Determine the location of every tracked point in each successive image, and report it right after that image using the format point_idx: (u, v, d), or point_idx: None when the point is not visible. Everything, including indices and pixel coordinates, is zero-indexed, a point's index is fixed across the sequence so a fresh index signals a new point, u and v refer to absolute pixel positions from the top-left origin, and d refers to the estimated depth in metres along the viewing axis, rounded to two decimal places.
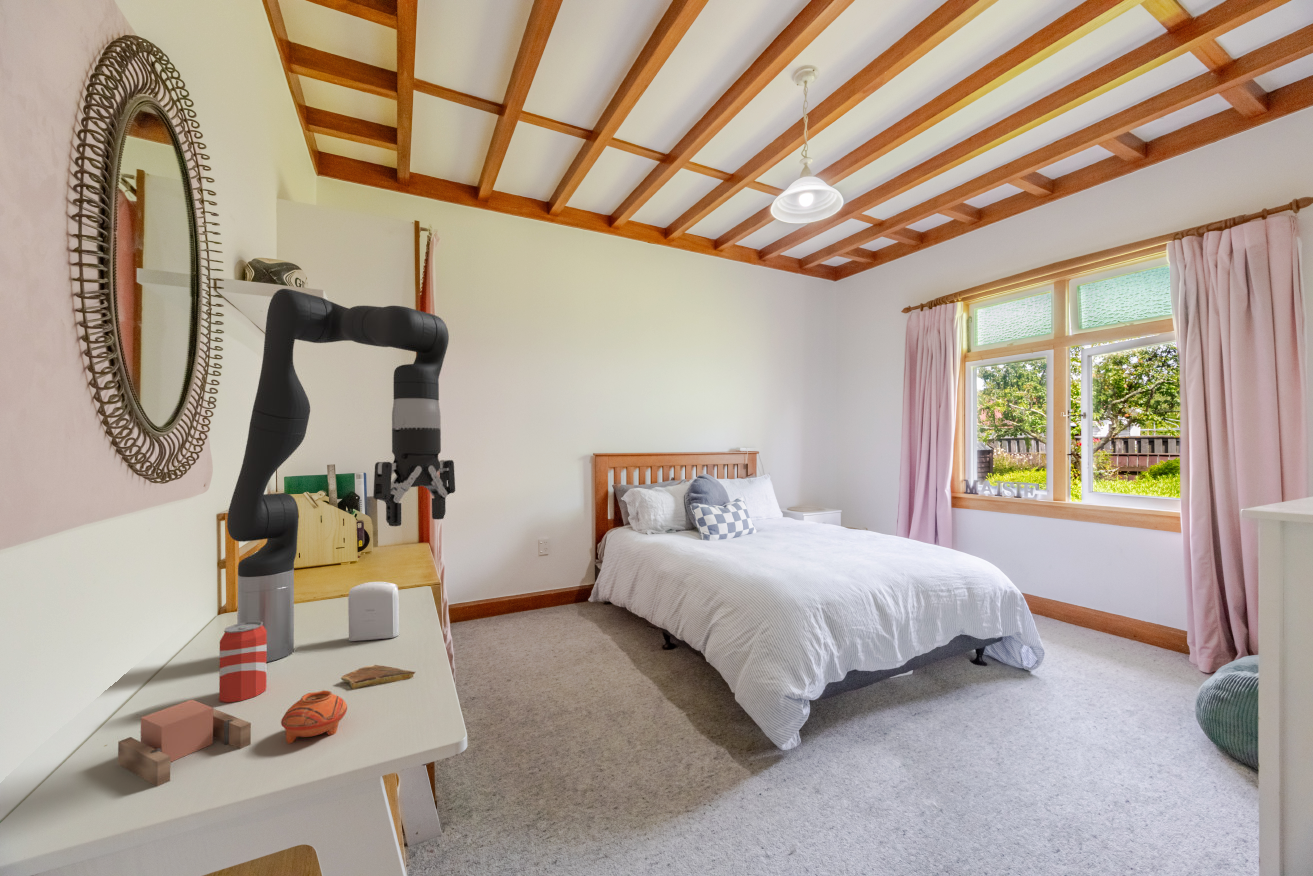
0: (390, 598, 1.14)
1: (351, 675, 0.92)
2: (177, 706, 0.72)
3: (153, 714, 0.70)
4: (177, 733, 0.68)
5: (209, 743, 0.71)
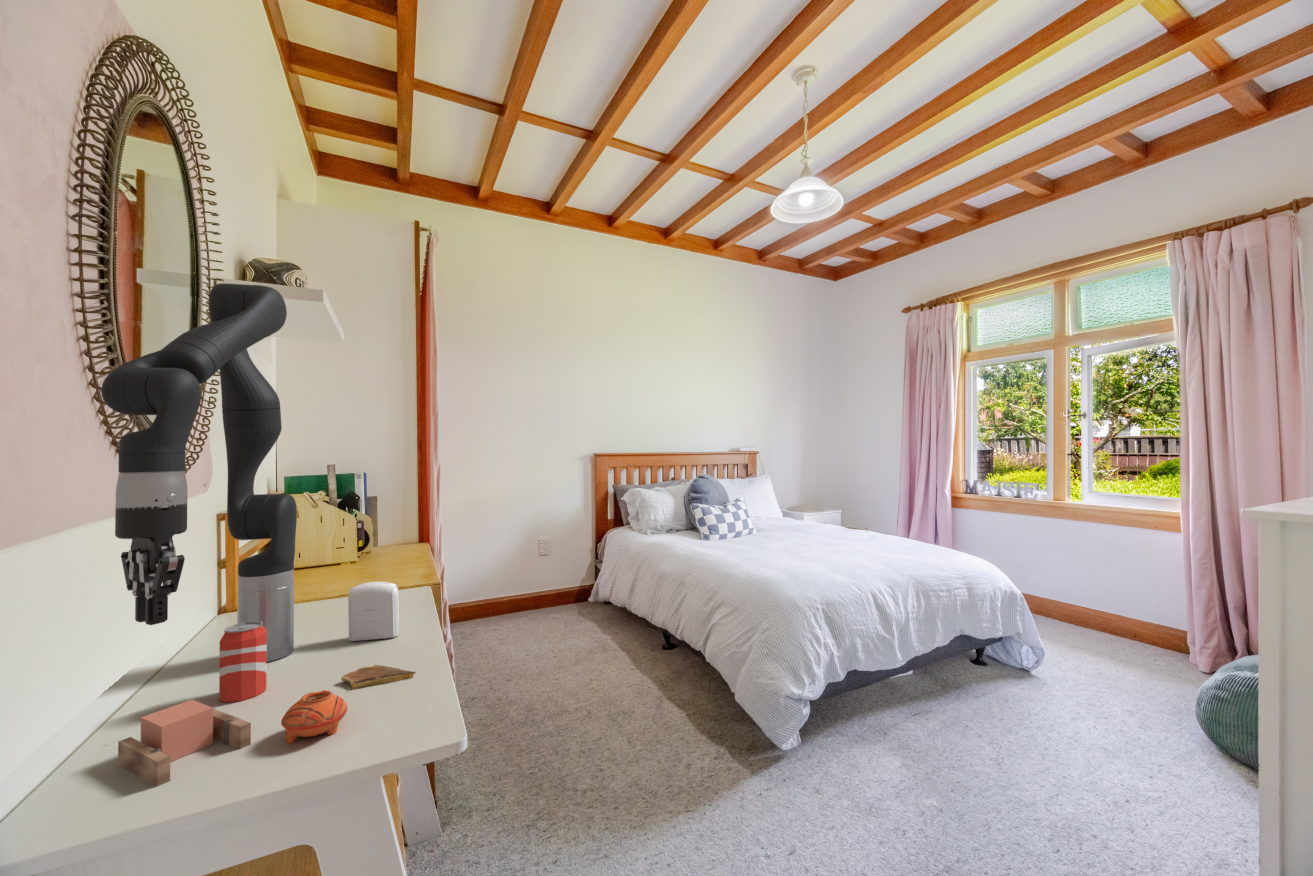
0: (390, 598, 1.14)
1: (351, 675, 0.92)
2: (177, 706, 0.72)
3: (153, 714, 0.70)
4: (177, 733, 0.68)
5: (209, 743, 0.71)
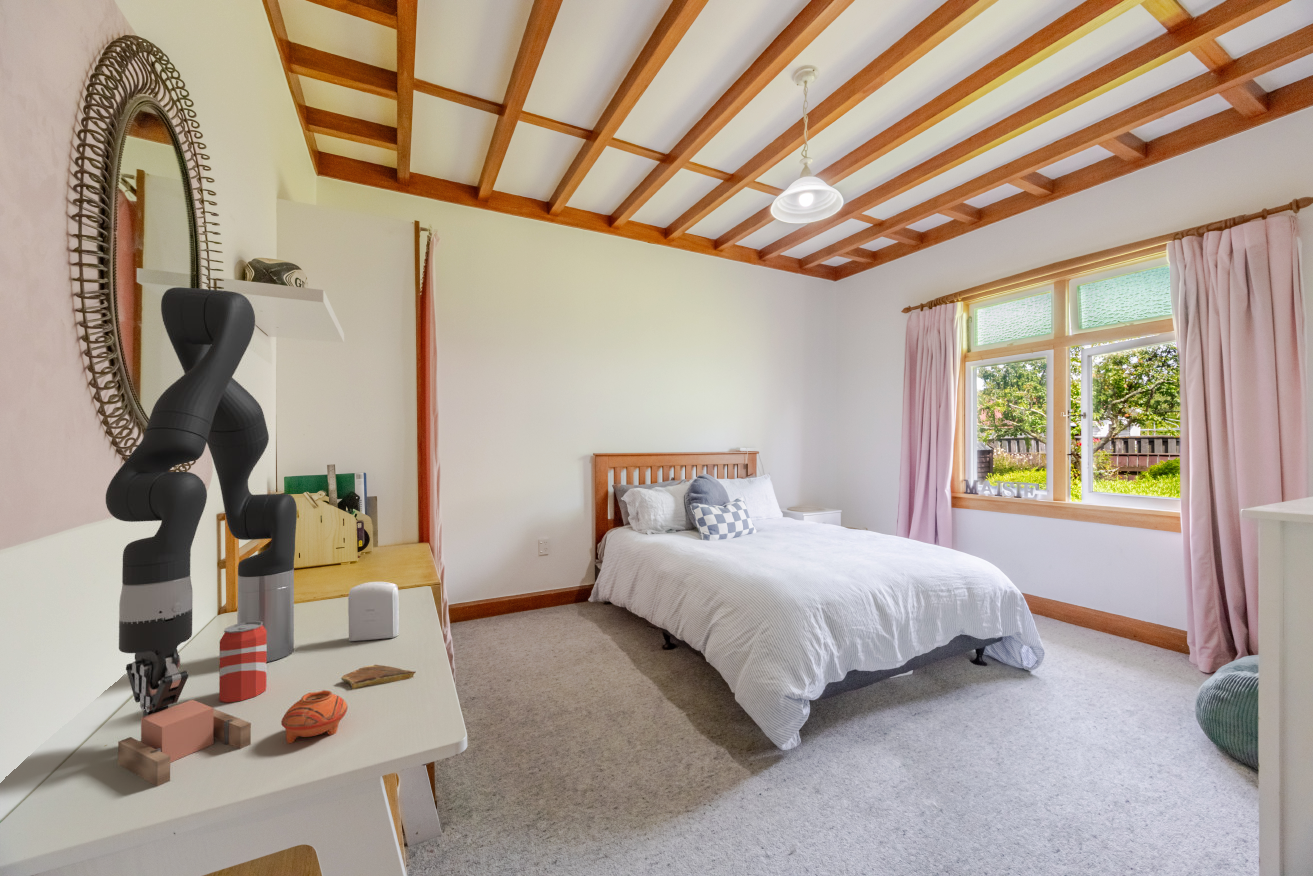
0: (390, 598, 1.14)
1: (351, 675, 0.92)
2: (178, 706, 0.72)
3: (153, 714, 0.70)
4: (177, 733, 0.68)
5: (209, 743, 0.71)
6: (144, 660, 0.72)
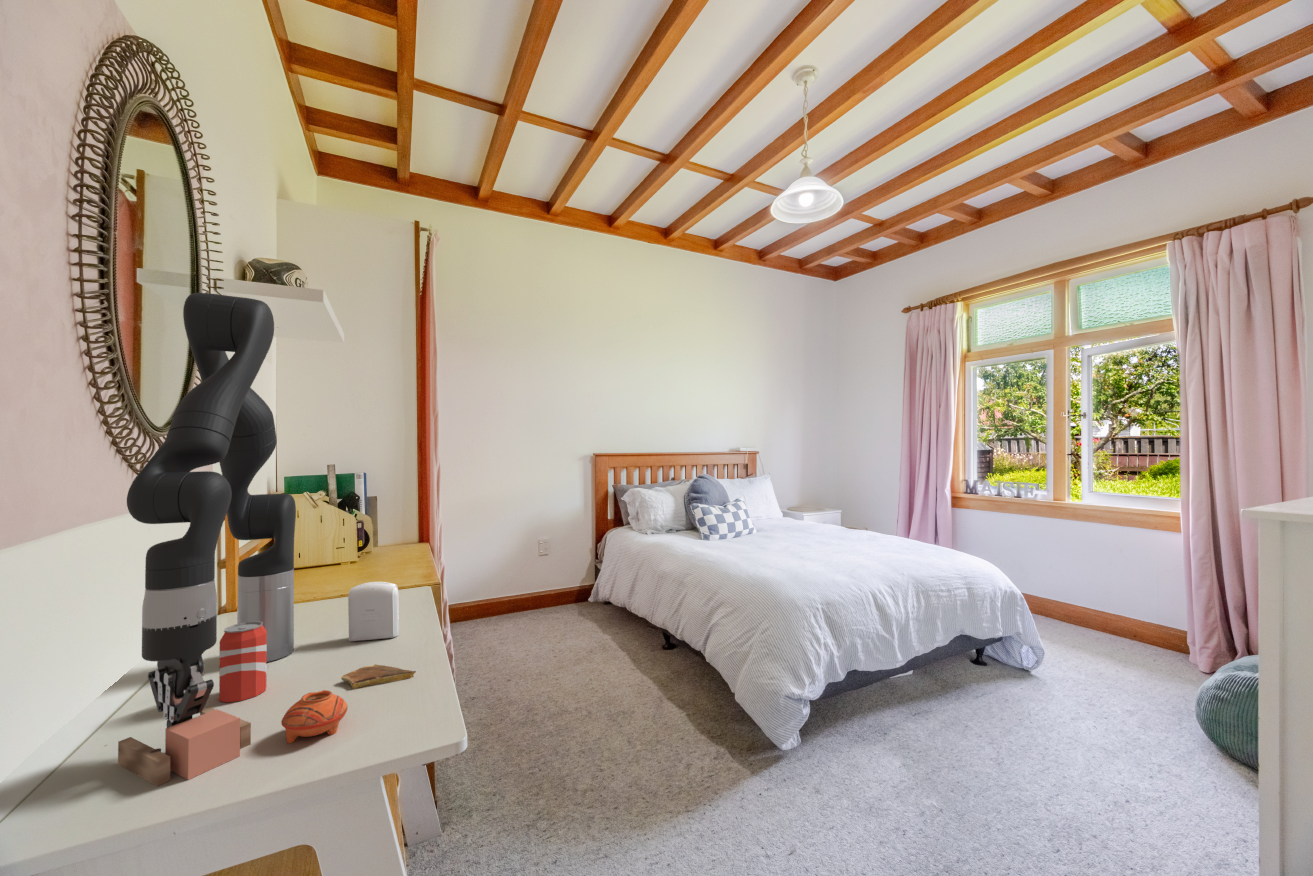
0: (390, 598, 1.14)
1: (351, 674, 0.92)
2: (203, 717, 0.69)
3: (178, 725, 0.67)
4: (204, 745, 0.65)
5: (236, 755, 0.68)
6: (167, 668, 0.69)
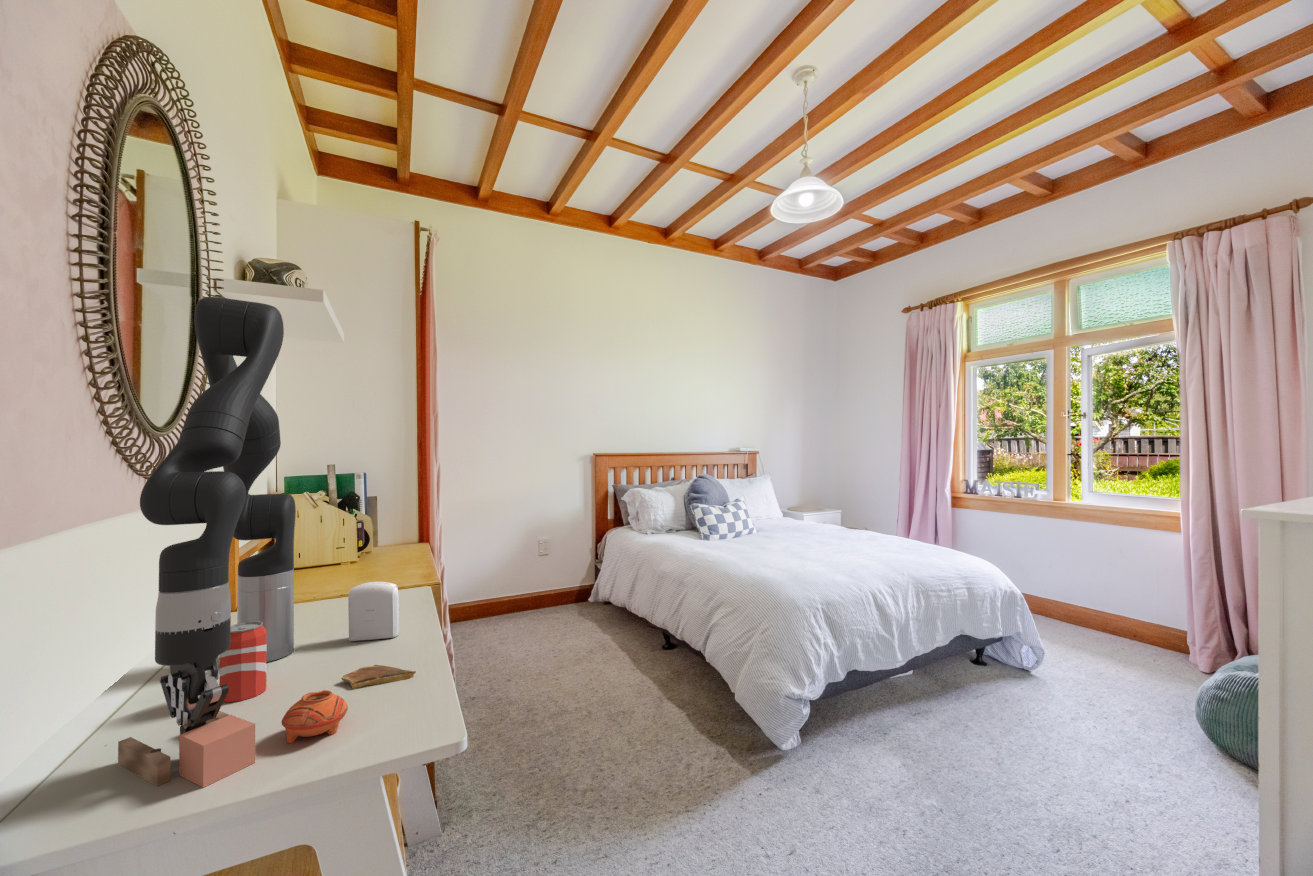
0: (390, 598, 1.14)
1: (351, 675, 0.92)
2: (217, 722, 0.68)
3: (191, 731, 0.66)
4: (219, 752, 0.63)
5: (251, 762, 0.67)
6: (181, 673, 0.68)
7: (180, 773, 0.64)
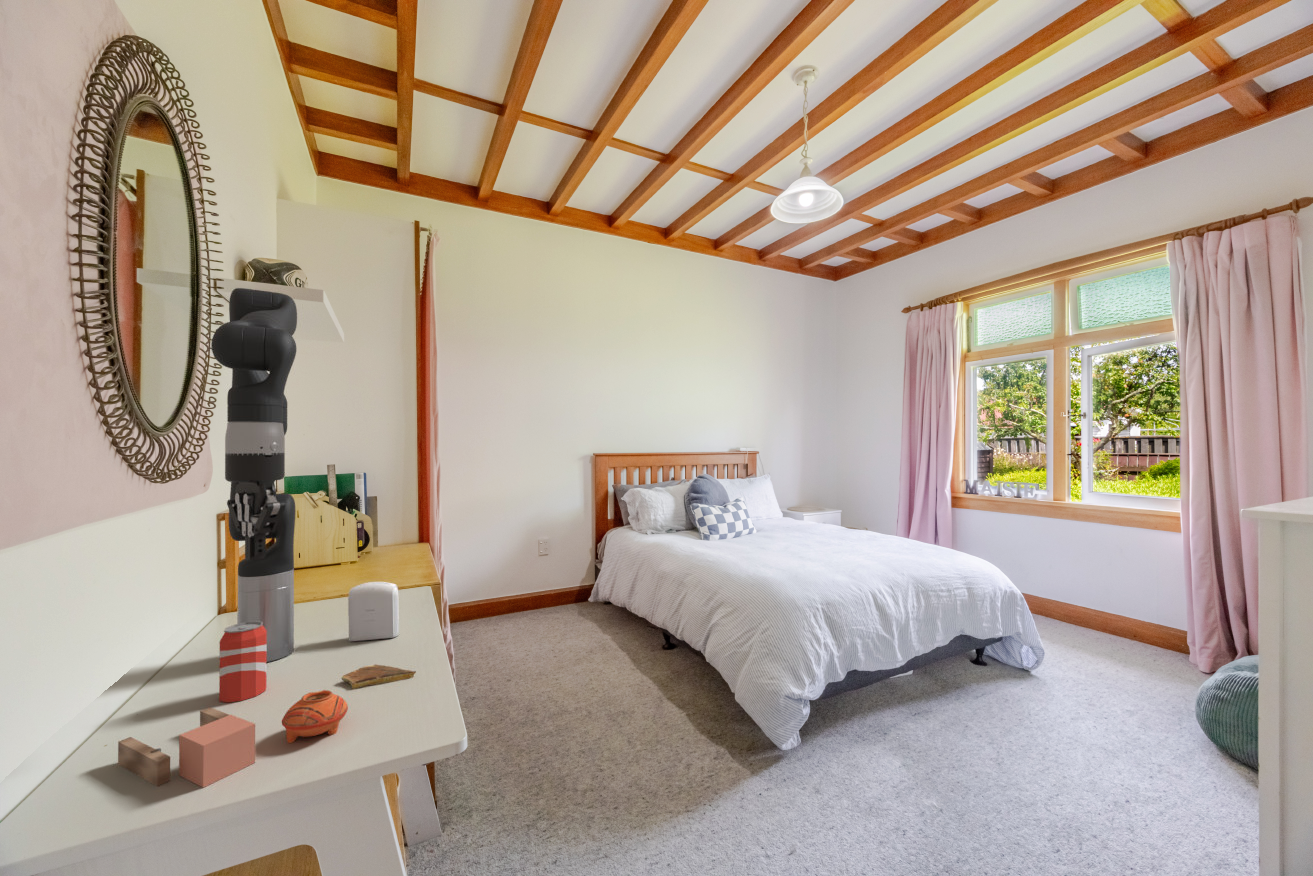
0: (390, 598, 1.14)
1: (351, 675, 0.92)
2: (217, 722, 0.68)
3: (191, 731, 0.66)
4: (219, 752, 0.63)
5: (251, 762, 0.67)
6: (245, 492, 0.81)
7: (180, 773, 0.64)
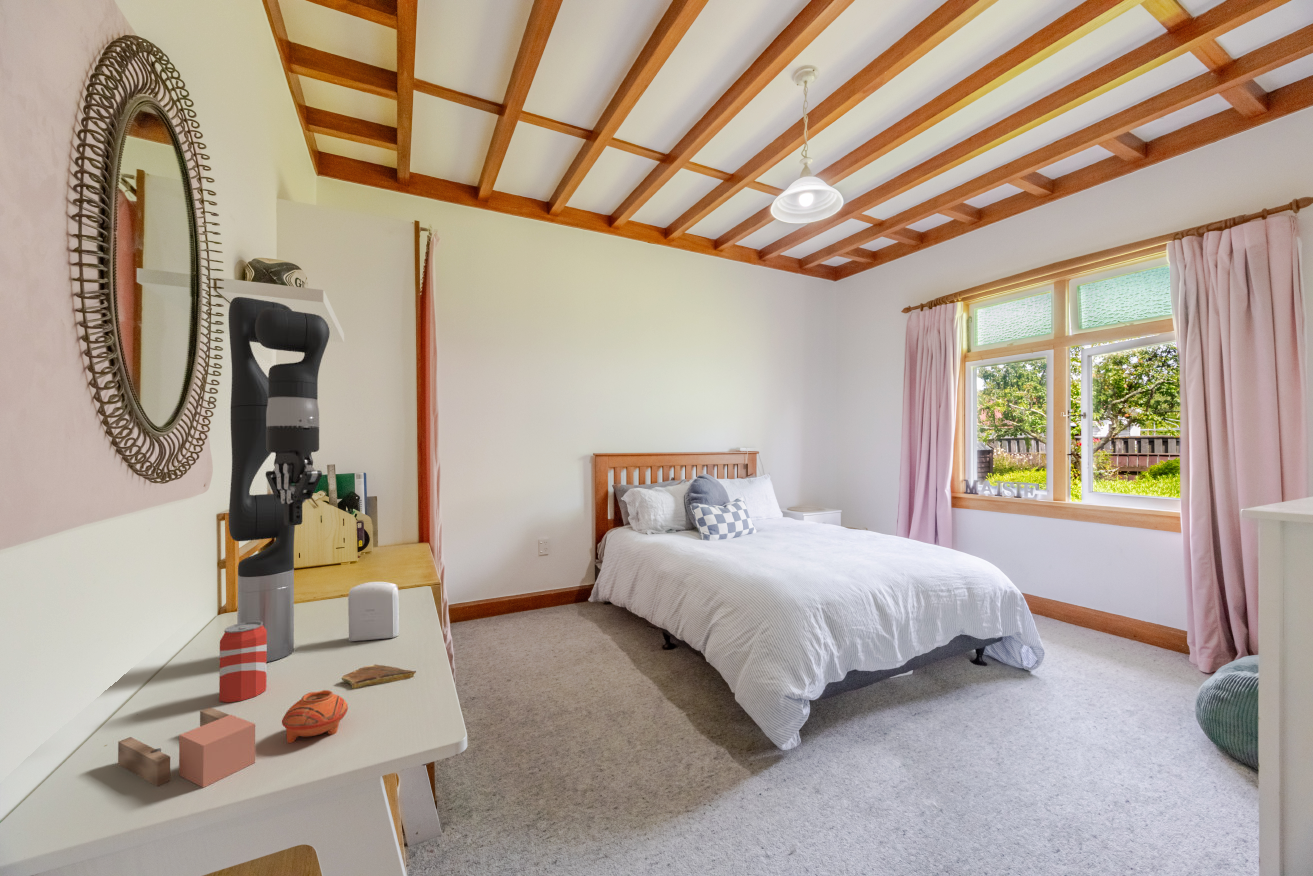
0: (390, 598, 1.14)
1: (351, 675, 0.92)
2: (217, 722, 0.68)
3: (191, 731, 0.66)
4: (219, 752, 0.63)
5: (251, 762, 0.67)
6: (284, 463, 0.88)
7: (180, 773, 0.64)
